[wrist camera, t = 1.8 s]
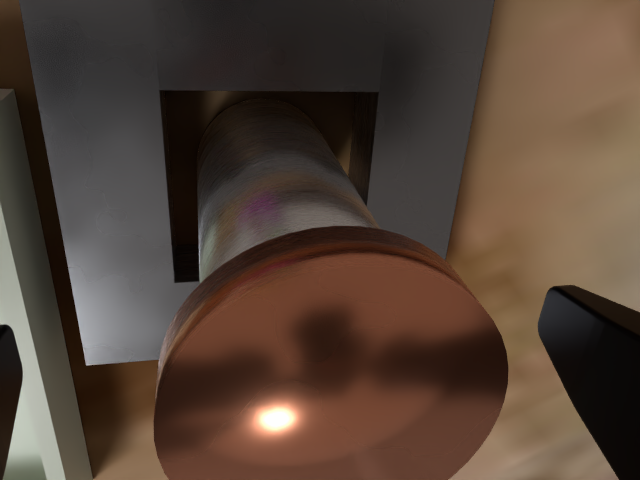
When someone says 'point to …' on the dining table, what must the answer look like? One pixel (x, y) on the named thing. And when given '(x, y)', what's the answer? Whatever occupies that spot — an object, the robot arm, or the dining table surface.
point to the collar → (235, 75)
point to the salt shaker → (316, 326)
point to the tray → (34, 325)
